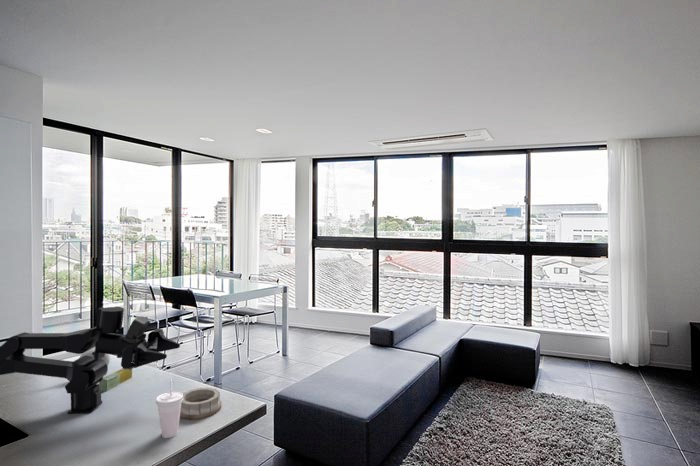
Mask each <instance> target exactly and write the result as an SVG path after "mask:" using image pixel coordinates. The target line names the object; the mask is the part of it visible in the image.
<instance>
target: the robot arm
mask: <svg viewBox="0 0 700 466" xmlns="http://www.w3.org/2000/svg"><path fill="white" fill-rule="evenodd" d="M124 312H125V308H124V307H121V306H111V307H109V306H108V307H99V308H97V309H96V322H95V323H96V324H95V326H94V327H92V328H91V327H90V328H84V329H79V330H75V331H71V332H47V333H45V332H38V333H37V332H36V333H35V332H34V333H33V332H32V333H31V332H25V331H24V332H19V333H18V334H16V335H13V336H10V338H8V339H7V340H5V342H4V343H3V344H2V345H0V376H3V375H4V376H5V375H10V374H15V373H18V374H25V375H26V374H27V375H33V376H35V375H36V376H41V377H42V376H43V377H52V378H53V377H54V378H61V379H66V380H67V381H68V383H66V385H65V386H64V389H65V391H66V393H67V394H70V409H69V410H67V414H86V413H88V414H89V413H92V412H94V411H95V410H96V409H97V408H98V407H100V406H101V404H102V403H103V400H102V392H101V390H99V382H101V381H102V379H103V378H104V377H106V376H107V373H108V371H109V370H108V369H109V367H108V366H109V365H108V366H107V364H106V363H105V361H104V360H103V359H101V358H102V357H104V356H105V354H109V355H112V356H115V355H116V358H117V359H121V362H120V366H121V368H123V369H127V370H131V369H132V370H133V369H137V368H139V367H142V366H145V365H149V364H152V363H155V362H159V361H162V360H165V359H167V357H168V356H167V355H168V354H166V353H164V352H165V351H166V352H167V351H172V350H175V349H176V350H177V349H179V348H180V347H181V344H180V343H179V342H175V341H174V340H173V339H169V338H168V337H166V336H165V333H164V330H163V328H155V329H153V330H152V331H150V332H149V333H148V335H147V333H146V330H147V328H148V326H149V325H150V324H151V320H149V319H148V317H149V316H137V318H134V319H133V320H132V322H131V324H130V326H129V327H128V330H127V332H126V334H120V333H118V332H119V330H121V329H122V328H123V324H124V323H123V321H124ZM146 338H147V339H146ZM92 348H95V351H94V352H93V353H92V355H93V356H94V357H91V356H83V357H81V358H80V357H79V358H78V359H76V360H74V361H71V360H62V359H56V358H55V359H53V358H44V357H37V356H36V357H35V356H28V355H25V354H24V353H25V351H26V350H62V351H64V352H66V353H71V354H77V355H82V354H83V353H84V352H86V351H88V350H90V349H92Z"/></svg>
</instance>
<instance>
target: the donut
mask: <svg viewBox="0 0 700 466" xmlns="http://www.w3.org/2000/svg"><path fill="white" fill-rule="evenodd" d="M94 351H95V347H94V348H92V349H90V350H88V351H86V352H84V353H82V354H80V356H79V358H81V357H83V356H91V357H94V356H93V355H92V353H93V352H94ZM101 359H103V360H104V361H105V363H106V364H107V366H109V364H110V362H111V356H110V354H105V356H104V357H102V358H101Z"/></svg>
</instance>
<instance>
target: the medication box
mask: <svg viewBox="0 0 700 466" xmlns="http://www.w3.org/2000/svg"><path fill="white" fill-rule="evenodd" d="M132 378H133V369H131V370H127V369H123V367H121V368H120V369H118V370H116V371H114V372H112V373H110V374H108V375H105V376H103V379H102V381H101V382H99V383H98V384H99V390H101V393H106V392H108V391H110V390H111V389H113V388H116V387H117V386H120V385H121V384H123V383H125V382H127V381H128V380H130V379H132Z"/></svg>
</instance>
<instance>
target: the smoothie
mask: <svg viewBox="0 0 700 466" xmlns="http://www.w3.org/2000/svg"><path fill="white" fill-rule="evenodd" d="M169 381H170V383H169V384H170V387H169V388H170V389H169V390H170V392H165V393H162V394H160V395H158V396H157V397H156V398H155V404H156V406H157V411H158V418H159V424H160V431H161V436H162V438H164V439H170V438H174V437H175V436H177V435H178V434H179V429H180V428H179V425H180V419H181V418H180V411H181V403H182V400H183V393H182V392H180V391H173V390H174V388H173V387H174V386H173V385H174V384H173V383H174V381H173V378H170V380H169Z"/></svg>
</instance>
